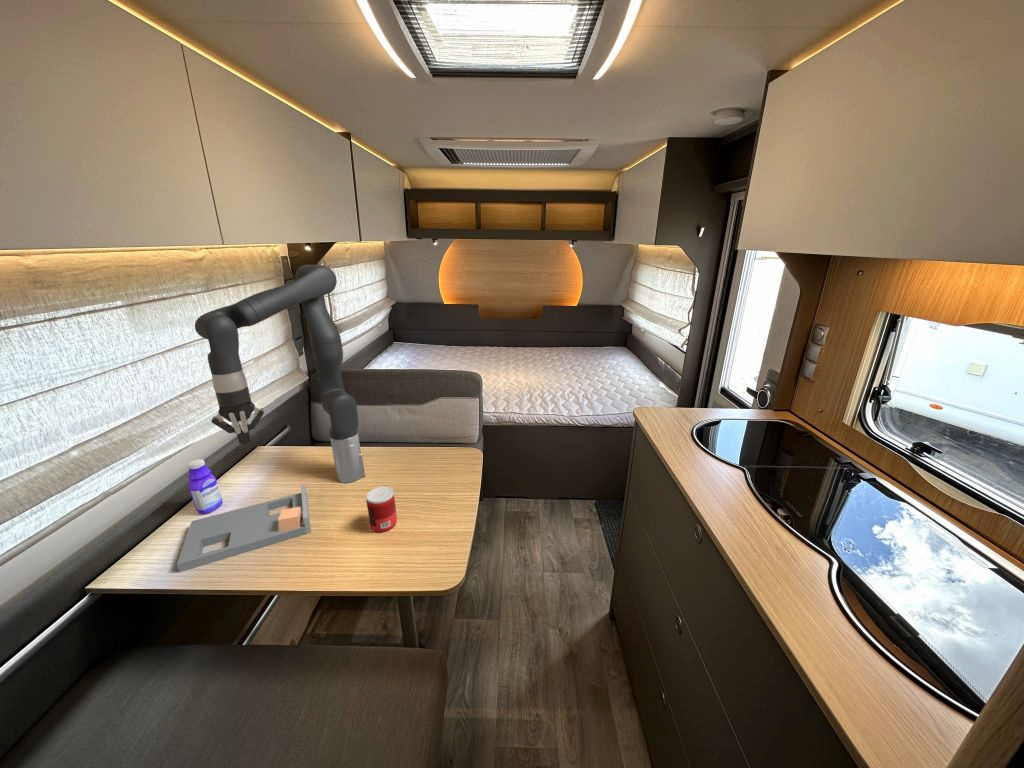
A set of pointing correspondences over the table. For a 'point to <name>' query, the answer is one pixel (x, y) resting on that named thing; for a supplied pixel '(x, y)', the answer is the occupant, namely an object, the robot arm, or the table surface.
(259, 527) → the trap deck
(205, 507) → the bottle
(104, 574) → the table surface
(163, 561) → the table surface
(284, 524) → the block
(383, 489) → the canned food
